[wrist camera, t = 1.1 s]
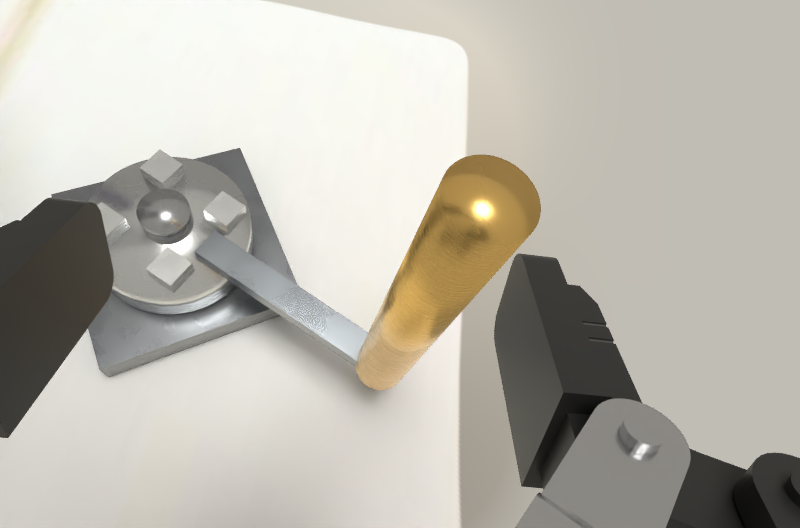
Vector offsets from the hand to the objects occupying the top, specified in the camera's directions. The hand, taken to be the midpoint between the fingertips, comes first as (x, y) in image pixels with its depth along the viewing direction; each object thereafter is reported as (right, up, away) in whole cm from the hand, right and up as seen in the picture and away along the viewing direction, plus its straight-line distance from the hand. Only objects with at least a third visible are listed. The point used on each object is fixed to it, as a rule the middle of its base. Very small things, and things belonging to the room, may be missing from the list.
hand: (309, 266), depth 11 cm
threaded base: (-14, 0, +28) cm, 31 cm away
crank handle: (-8, -2, +26) cm, 27 cm away
